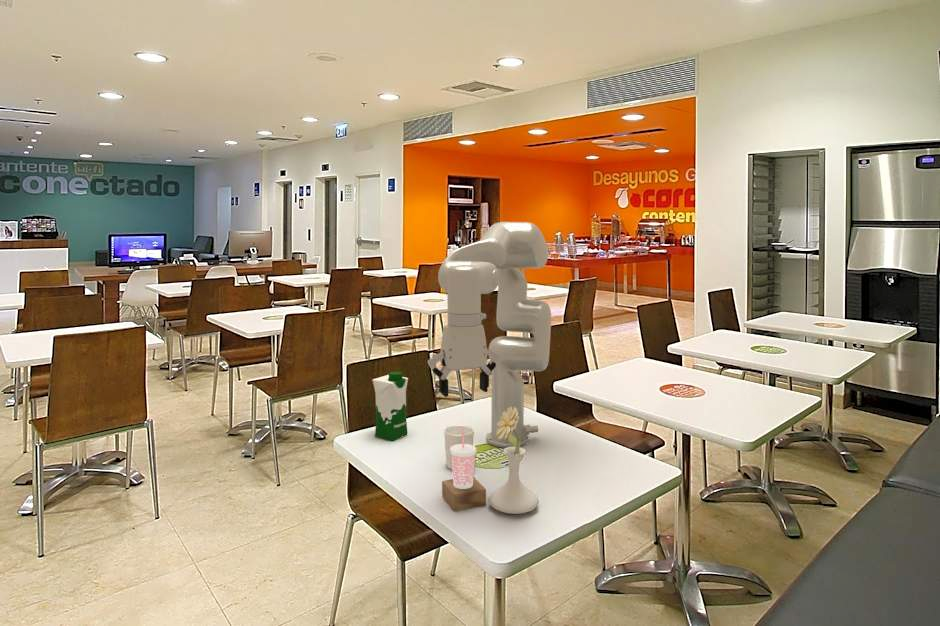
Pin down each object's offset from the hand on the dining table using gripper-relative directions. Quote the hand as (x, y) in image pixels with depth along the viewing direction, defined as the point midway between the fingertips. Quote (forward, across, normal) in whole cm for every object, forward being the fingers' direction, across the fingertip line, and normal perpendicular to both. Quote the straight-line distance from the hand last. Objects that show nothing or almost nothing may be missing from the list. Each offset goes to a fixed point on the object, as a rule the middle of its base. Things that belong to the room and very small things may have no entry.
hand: (464, 392), depth 146 cm
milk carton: (+27, +5, -48) cm, 56 cm away
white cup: (+27, -6, -20) cm, 34 cm away
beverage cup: (+22, 0, 0) cm, 23 cm away
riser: (+26, 0, 0) cm, 26 cm away
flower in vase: (+27, -9, +8) cm, 29 cm away
